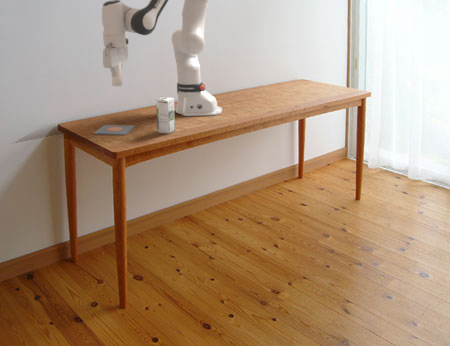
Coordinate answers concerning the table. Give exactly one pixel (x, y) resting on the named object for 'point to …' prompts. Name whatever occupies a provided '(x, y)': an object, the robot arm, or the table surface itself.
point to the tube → (118, 79)
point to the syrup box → (165, 115)
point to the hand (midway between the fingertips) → (116, 75)
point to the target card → (114, 130)
